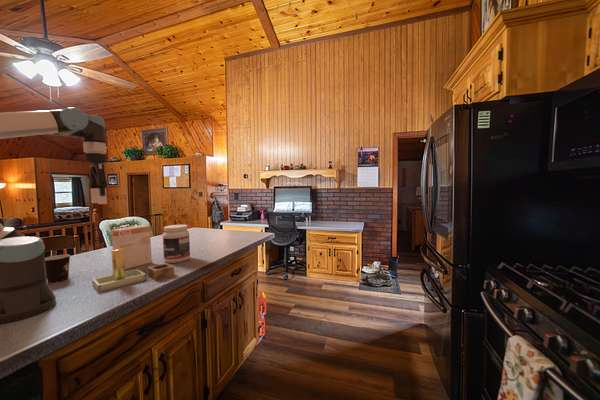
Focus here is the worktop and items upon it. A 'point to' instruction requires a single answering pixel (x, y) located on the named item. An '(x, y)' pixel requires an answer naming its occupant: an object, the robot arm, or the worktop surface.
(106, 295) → the worktop surface
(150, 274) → the socket block
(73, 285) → the worktop surface
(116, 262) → the pin
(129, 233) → the coffeecake box
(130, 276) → the tray
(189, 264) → the worktop surface
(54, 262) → the coffee mug
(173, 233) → the supplement tub
